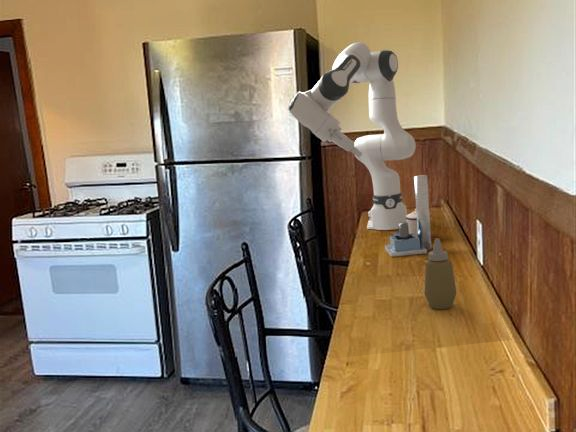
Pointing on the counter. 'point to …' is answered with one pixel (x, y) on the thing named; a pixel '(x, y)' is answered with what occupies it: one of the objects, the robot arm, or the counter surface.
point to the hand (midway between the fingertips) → (358, 154)
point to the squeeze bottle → (439, 279)
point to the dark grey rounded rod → (403, 230)
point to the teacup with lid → (413, 222)
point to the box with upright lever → (423, 225)
